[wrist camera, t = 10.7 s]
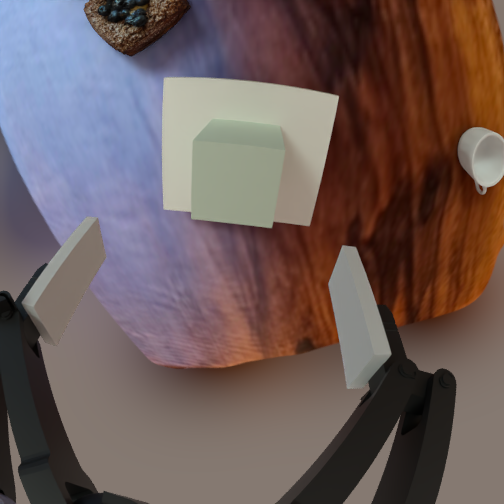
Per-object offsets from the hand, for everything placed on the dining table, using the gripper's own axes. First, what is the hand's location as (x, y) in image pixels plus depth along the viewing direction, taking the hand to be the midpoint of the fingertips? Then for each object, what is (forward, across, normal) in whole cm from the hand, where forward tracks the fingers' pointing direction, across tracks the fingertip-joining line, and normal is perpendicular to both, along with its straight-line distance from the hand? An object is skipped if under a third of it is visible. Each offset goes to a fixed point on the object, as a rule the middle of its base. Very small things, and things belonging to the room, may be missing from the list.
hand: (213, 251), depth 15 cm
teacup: (+23, +32, +5) cm, 40 cm away
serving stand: (+23, 0, -1) cm, 23 cm away
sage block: (+18, 0, -1) cm, 18 cm away
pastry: (+24, -14, +17) cm, 32 cm away
